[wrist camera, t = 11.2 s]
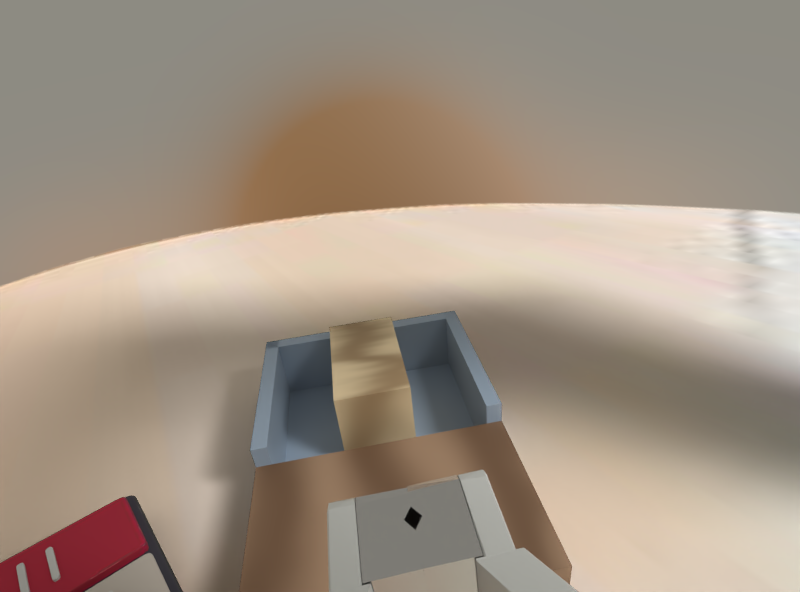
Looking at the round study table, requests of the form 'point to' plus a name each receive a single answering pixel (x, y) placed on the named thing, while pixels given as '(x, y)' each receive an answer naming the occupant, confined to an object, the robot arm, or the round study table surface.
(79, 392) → the round study table surface
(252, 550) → the walnut plate
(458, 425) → the tray
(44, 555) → the calculator
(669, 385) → the round study table surface
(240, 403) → the round study table surface
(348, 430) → the oak block
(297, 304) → the round study table surface
